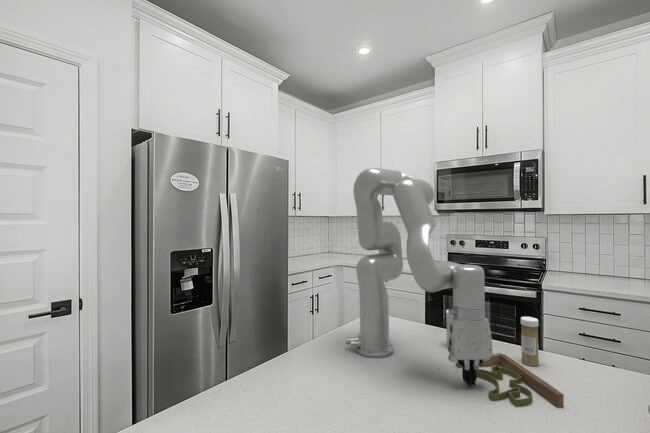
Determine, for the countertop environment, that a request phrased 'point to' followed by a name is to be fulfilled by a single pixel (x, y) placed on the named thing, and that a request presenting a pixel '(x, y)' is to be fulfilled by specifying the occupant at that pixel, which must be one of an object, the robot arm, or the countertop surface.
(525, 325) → the sprinkles bottle
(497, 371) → the cookie cutter
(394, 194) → the robot arm
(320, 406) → the countertop surface
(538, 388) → the walnut fence
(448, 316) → the skincare box
